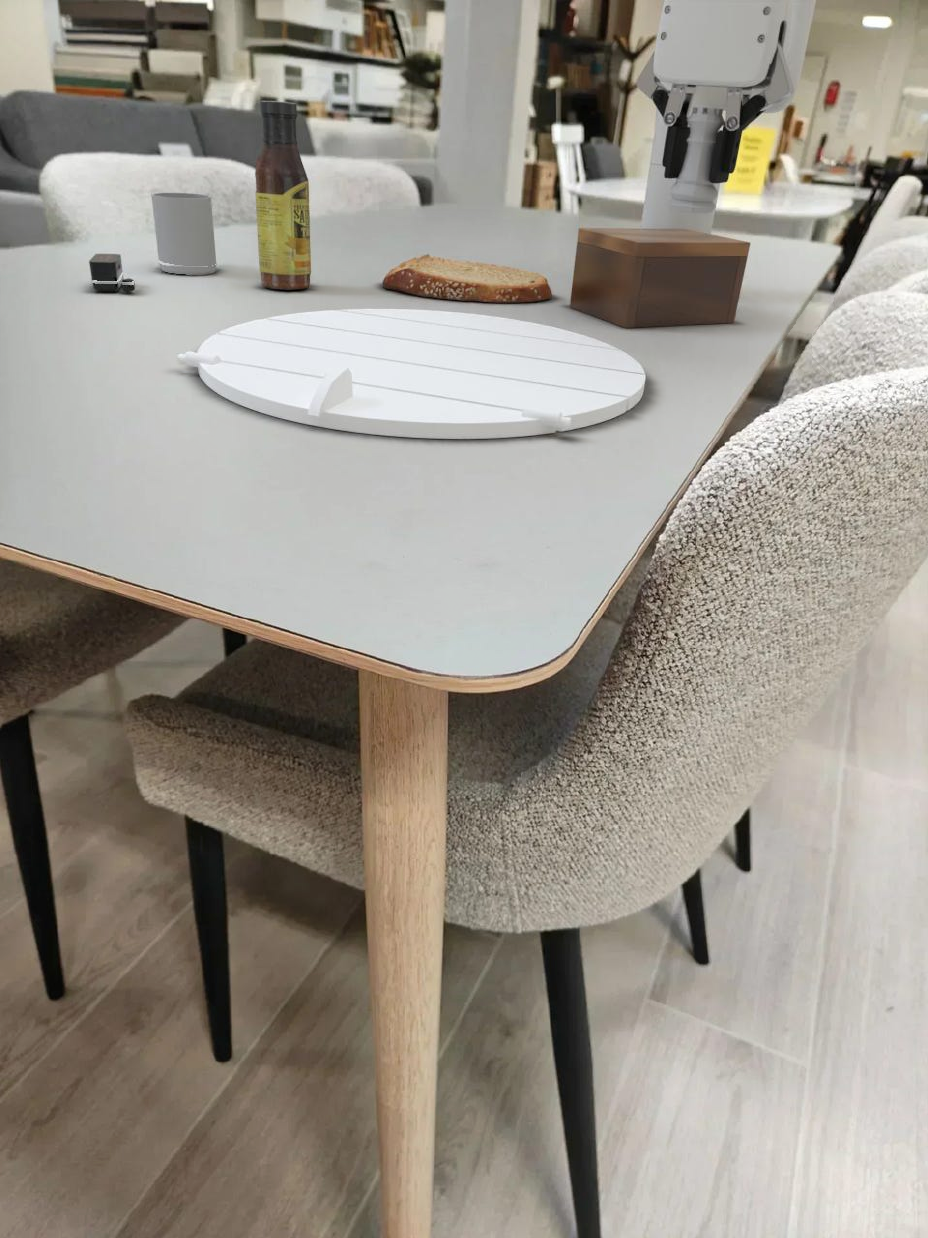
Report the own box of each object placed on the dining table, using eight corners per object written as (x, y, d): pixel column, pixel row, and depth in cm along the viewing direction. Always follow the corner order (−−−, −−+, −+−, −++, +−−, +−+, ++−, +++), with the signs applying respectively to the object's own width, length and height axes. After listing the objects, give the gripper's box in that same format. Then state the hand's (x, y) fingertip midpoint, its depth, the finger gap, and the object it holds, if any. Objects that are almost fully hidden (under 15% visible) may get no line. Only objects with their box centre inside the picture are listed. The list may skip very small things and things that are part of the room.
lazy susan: (583, 479, 55) (590, 428, 54) (86, 388, 66) (79, 342, 64) (673, 352, 88) (680, 317, 86) (332, 305, 99) (331, 273, 97)
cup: (155, 274, 109) (145, 196, 105) (169, 262, 118) (161, 189, 113) (213, 276, 110) (206, 199, 106) (223, 264, 119) (217, 192, 114)
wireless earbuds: (91, 293, 96) (87, 262, 95) (100, 282, 102) (95, 253, 101) (135, 294, 97) (131, 264, 96) (141, 283, 103) (137, 254, 102)
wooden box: (569, 306, 107) (578, 227, 102) (672, 303, 113) (685, 228, 109) (625, 328, 97) (638, 242, 93) (734, 322, 104) (750, 242, 99)
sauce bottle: (307, 293, 104) (300, 102, 94) (255, 289, 104) (243, 98, 94) (315, 284, 110) (310, 103, 100) (266, 281, 110) (256, 99, 100)
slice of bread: (563, 299, 111) (567, 268, 109) (456, 310, 100) (458, 276, 98) (473, 276, 122) (474, 248, 120) (368, 284, 112) (368, 253, 110)
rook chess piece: (716, 215, 76) (736, 109, 72) (665, 210, 76) (682, 106, 72) (714, 209, 80) (733, 109, 75) (665, 205, 80) (681, 106, 76)
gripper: (862, -79, 66) (800, 187, 76) (661, -72, 73) (628, 169, 83) (838, -97, 61) (774, 192, 70) (624, -88, 68) (593, 172, 78)
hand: (696, 177), depth 77 cm, fingers closed on rook chess piece, 3 cm apart
